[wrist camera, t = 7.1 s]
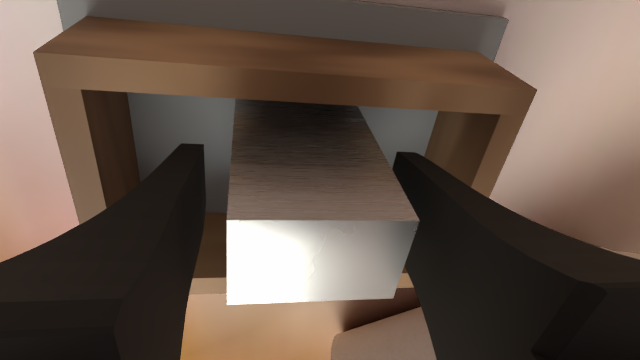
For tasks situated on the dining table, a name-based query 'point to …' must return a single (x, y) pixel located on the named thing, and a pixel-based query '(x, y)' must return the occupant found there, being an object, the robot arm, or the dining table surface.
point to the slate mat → (292, 19)
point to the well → (262, 84)
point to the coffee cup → (393, 337)
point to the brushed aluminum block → (312, 207)
